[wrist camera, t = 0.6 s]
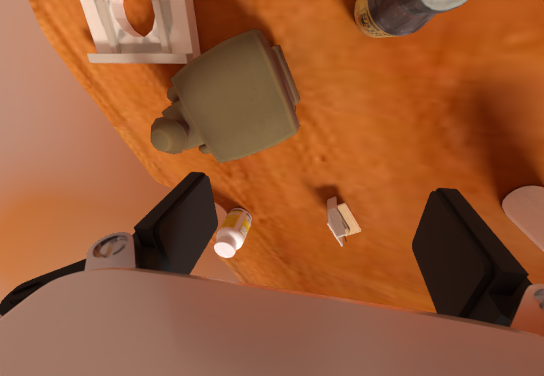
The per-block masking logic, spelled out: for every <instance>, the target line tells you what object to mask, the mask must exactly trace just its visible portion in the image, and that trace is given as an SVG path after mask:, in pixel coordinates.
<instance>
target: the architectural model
mask: <svg viewBox="0 0 544 376" xmlns="http://www.w3.org/2000/svg"><path fill="white" fill-rule="evenodd" d="M327 224H328V226H329V227H330V229H331V231H332V232H333V234H334V235H335V237H336V238H337V240H338V242H339V243H340V245H341V246H343V242H342V236H344V235H345V236H348V235H351V234H354V233H357V232H361V229H360V227H359V226H358V224H357V222H356V220H355V219H354V217H353V215H352V214H351V212H350V210H349V208H348V207H347V205H346V203H343V204H340V203H339V204H338V205H337V200H336V196H335V197H332V198H330V199H328V201H327ZM345 236H344V237H345ZM345 240H346V238H345ZM346 242H347V241H346Z"/></svg>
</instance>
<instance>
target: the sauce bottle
mask: <svg viewBox="0 0 544 376" xmlns="http://www.w3.org/2000/svg"><path fill="white" fill-rule="evenodd" d="M466 1H468V0H356V3H355V8H354V16H355V22H356V25H357V26H358V28H359V29H360V31H361V32H362V33H364V34H365V35H367V36H370V37H376V38H377V37H393V36H404V35H409V34H411V33H414V32H416V31H418V30H419V29H420V28H422V27H423V26H424V25H425V24H426V23H427V22H428V21H429V20H431V19H432V18H433V17H434V16H435V15H436V14H439V13H443V12H446V11H449V10H451V9H454V8H457V7H459V6H461V5H462V4H464V3H465V2H466Z"/></svg>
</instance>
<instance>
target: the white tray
mask: <svg viewBox="0 0 544 376" xmlns="http://www.w3.org/2000/svg"><path fill="white" fill-rule="evenodd" d="M80 1H81V4H82V7H83V10H84V13H85V16H86V19H87V22H88V25H89V28H90V31H91V34H92V37H93V40H94V43H95V46H96V49H97V52H98V53H93V54H87V55H88V58H89V61H90V63H165V64H187V63H188V62H190V61H191V60H193V59H195V58H196V57H198V56H200V55H201V53H200V46H199V39H198V31H197V24H196V17H195V10H194V3H193V0H152V4H153V9H154V13H155V20H154V25H153V30H152V31H151V32H150V33H149V34H148V35H146V36H145V37H144V36H142V35H140V34H139V33H137V32H136V31H135V30H134V29H133V28H132V26H131V25H130V23H129V22H128V20H127V18H126V14H125V10H124V7H123V2H124V0H80Z"/></svg>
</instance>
